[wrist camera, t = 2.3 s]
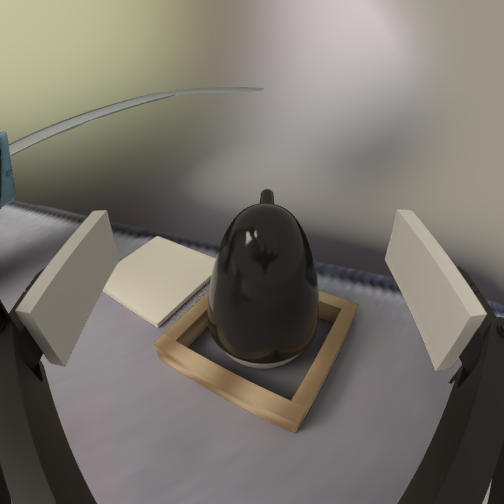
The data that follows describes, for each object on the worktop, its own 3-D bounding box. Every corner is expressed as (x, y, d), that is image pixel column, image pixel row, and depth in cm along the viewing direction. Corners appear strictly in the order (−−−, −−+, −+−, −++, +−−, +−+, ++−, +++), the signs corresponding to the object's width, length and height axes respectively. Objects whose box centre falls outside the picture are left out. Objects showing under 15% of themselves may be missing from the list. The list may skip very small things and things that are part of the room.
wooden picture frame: (159, 358, 28) (153, 343, 27) (240, 277, 39) (239, 261, 37) (295, 433, 22) (299, 422, 20) (353, 320, 32) (358, 304, 31)
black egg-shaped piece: (308, 307, 34) (326, 181, 25) (314, 386, 26) (351, 250, 17) (220, 304, 35) (209, 178, 26) (204, 381, 26) (176, 244, 18)
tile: (93, 284, 37) (92, 281, 37) (157, 239, 46) (157, 235, 46) (158, 327, 32) (156, 324, 31) (225, 265, 41) (225, 262, 40)
